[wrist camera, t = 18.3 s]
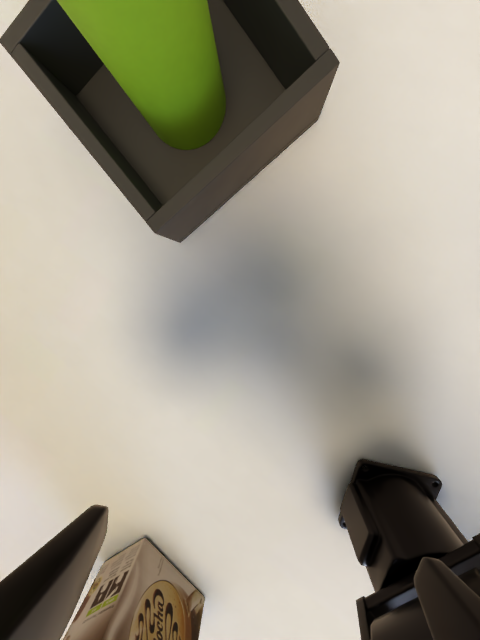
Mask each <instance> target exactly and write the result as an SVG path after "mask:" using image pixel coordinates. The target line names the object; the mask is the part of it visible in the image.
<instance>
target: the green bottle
mask: <svg viewBox="0 0 480 640" xmlns="http://www.w3.org/2000/svg"><path fill="white" fill-rule="evenodd" d="M57 1H58V3H59V4H60V5H61V7H62V8H63V9H64V11H65V12H66V13H67V15H68V16H69V18H70V19H71V20H72V22H73V23H74V24H75V26H76V27H77V28H78V30H79V31H80V32H81V34H82V35H83V36H84V38H85V39H86V40H87V42H88V43H89V44H90V46H91V47H92V48H93V50H94V51H95V52H96V54H97V55H98V56H99V58H100V59H101V60H102V62H103V63H104V65H105V66H106V67H107V69H108V70H109V71H110V73H111V74H112V75H113V77H114V78H115V79H116V81H117V82H118V83H119V85H120V86H121V87H122V89H123V90H124V91H125V93H126V94H127V95H128V97H129V98H130V99H131V101H132V102H133V103H134V105H135V106H136V107H137V109H138V110H139V111H140V113H141V114H142V116H143V117H144V118H145V120H146V121H147V122H148V124H149V125H150V126H151V128H152V129H153V130H154V132H155V133H156V134H157V136H158V137H159V138H160V139H161V140H162V141H163V142H165V143H166V144H168V145H169V146H171V147H174V148H177V149H181V150H191V149H196V148H199V147H201V146H203V145H205V144H206V143H208V142H209V141H210V140H211V139H212V138H213V137H214V136H215V135H216V134H217V132H218V130H219V129H220V127H221V125H222V122H223V119H224V116H225V110H226V97H225V90H224V85H223V80H222V75H221V70H220V64H219V59H218V54H217V49H216V44H215V38H214V33H213V28H212V23H211V18H210V12H209V7H208V2H207V0H57Z"/></svg>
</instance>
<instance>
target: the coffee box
mask: <svg viewBox="0 0 480 640" xmlns="http://www.w3.org/2000/svg"><path fill="white" fill-rule="evenodd" d="M204 601H205V597H204V596H203V595H202V594H201V593H200V592H199V591H198V590H197V589H196V588H195V587H194V586H193V585H192V584H191V583H190V582H189V581H188V580H187V579H186V578H185V577H184V576H183V575H182V574H181V573H180V572H179V571H178V570H177V569H176V568H175V567H174V566H173V565H172V564H171V563H170V562H169V561H168V560H167V559H166V558H165V557H164V556H163V555H162V554H161V553H160V552H159V551H158V550H157V549H156V548H155V547H154V546H153V545H152V544H151V543H150V542H149V541H148V540H147V539H146V538H143V539H142V540H140V541H138V542H137V543H135V544H133V545H132V546H130V547H129V548H127V549H125V550H124V551H122V552H120V553H119V554H117V555H116V556H114V557H112V558H111V559H109V560H108V561H106V562H105V563H103V565H102V567H101V569H100V571H99V572H98V574H97V576H96V578H95V580H94V582H93V584H92V586H91V588H90V590H89V592H88V594H87V596H86V597H85V599H84V601H83V603H82V605H81V607H80V609H79V610H78V612H77V614H76V616H75V618H74V620H73V622H72V624H71V625H70V627H69V629H68V631H67V633H66V635H65V637H64V639H63V640H198V637H199V631H200V625H201V618H202V612H203V607H204Z"/></svg>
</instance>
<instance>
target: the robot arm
mask: <svg viewBox="0 0 480 640" xmlns="http://www.w3.org/2000/svg"><path fill="white" fill-rule="evenodd" d="M363 466H366V467H363ZM433 482H434V483H433ZM441 486H442V482H441V481H440V480H439V479H438V477H437V476H435V475H431V474H427V473H422V472H418V471H414V470H409V469H405V468H400V467H396V466H392V465H387V464H383V463H378V462H374V461H370V460H365V459H362V460H359V461H358V463H357V465H356V468H355V471H354V474H353V477H352V480H351V482H350V483H349V485H348V487H347V490H346V493H345V496H344V499H343V502H342V505H341V508H340V509H341V512H340V515H339V518H338V520H339V523H340V526H341V527H342V528H344V529H347V530H348V533H349V535H350V538H351V541H352V544H353V547H354V550H355V553H356V556H357V559H358V561H359V562H360V564H361V565H363V566H366V568H367V571H368V574H369V576H370V579H371V582H372V585H373V587H374V590H375V593H373V594H371V595H369V596H367V597H366V598H365V597H364V596H363V597H361V598H359V599H357V600H356V604H357V611H358V618H359V626H360V633H361V640H480V534H478V535H476V536H474V537H472V538H473V540H472V541H470V542H468V541H467V540H466V538H465V537H464V536H463V534H462V533H461V532H460V531H459V529H458V528H457V527H456V525H455V524H454V523H453V522H452V520H451V519H450V518H449V516H448V515H447V514H446V513H445V511H444V510H443V509H442V507H441V506H440V505H439V503H438V502H437V501H436V498H437V496H438V493H439V491H440V489H441ZM107 524H108V507H106V506H101V505H93V506H91V507H90V508H88V509H87V510H86V511H85V512H84V513H82V514H81V515H80V516H79V517H78V518H76V519H75V520H74V521H73V522H72V523H70V524H69V525H68V526H67V527H66V528H64V529H63V530H62V531H61V532H60V533H58V534H57V535H56V536H55V537H54V538H52V539H51V540H50V541H49V542H48V543H46V544H45V545H44V546H43V547H42V548H41V549H39V550H38V551H37V552H36V553H35V554H33V555H32V556H31V557H30V558H29V559H27V560H26V561H25V562H24V563H23V564H21V565H20V566H19V567H18V568H17V569H15V570H14V571H13V572H12V573H11V574H9V575H8V576H7V577H6V578H5V579H3V580H2V581H1V582H0V640H60V638H61V636H62V634H63V633H64V631H65V628H66V626H67V624H68V622H69V620H70V618H71V616H72V614H73V612H74V609H75V607H76V605H77V603H78V600H79V598H80V595H81V593H82V591H83V588H84V586H85V584H86V581H87V579H88V577H89V574H90V572H91V570H92V567H93V565H94V563H95V560H96V558H97V555H98V553H99V551H100V548H101V546H102V544H103V541H104V539H105V536H106V533H107Z"/></svg>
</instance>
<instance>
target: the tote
mask: <svg viewBox="0 0 480 640" xmlns="http://www.w3.org/2000/svg"><path fill="white" fill-rule="evenodd" d="M207 2H208V7H209V12H210V18H211V23H212V28H213V33H214V38H215V44H216V49H217V54H218V59H219V64H220V70H221V75H222V80H223V85H224V90H225V97H226V110H225V116H224V119H223V122H222V125H221V127H220V129H219V130H218V132H217V134H216V135H215V136H214V137H213V138H212V139H211V140H210V141H209V142H208V143H206V144H205V145H203V146H201V147H199V148H196V149H191V150H181V149H177V148H174V147H171V146H169V145H168V144H166V143H165V142H163V141H162V140H161V139H160V138H159V137H158V136H157V134H156V133H155V132H154V130H153V129H152V128H151V126H150V125H149V124H148V122H147V121H146V120H145V118H144V117H143V116H142V114H141V113H140V111H139V110H138V109H137V107H136V106H135V105H134V103H133V102H132V101H131V99H130V98H129V97H128V95H127V94H126V93H125V91H124V90H123V89H122V87H121V86H120V85H119V83H118V82H117V81H116V79H115V78H114V77H113V75H112V74H111V73H110V71H109V70H108V69H107V67H106V66H105V65H104V63H103V62H102V60H101V59H100V58H99V56H98V55H97V54H96V52H95V51H94V50H93V48H92V47H91V46H90V44H89V43H88V42H87V40H86V39H85V38H84V36H83V35H82V34H81V32H80V31H79V30H78V28H77V27H76V26H75V24H74V23H73V22H72V20H71V19H70V18H69V16H68V15H67V13H66V12H65V11H64V9H63V8H62V7H61V5H60V4H59V3H58V1H57V0H29V1H28V3H27V4H26V5H25V7H24V8H23V9H22V11H21V12H20V13H19V14H18V16H17V17H16V18H15V20H14V21H13V22H12V24H11V25H10V26H9V28H8V29H7V30H6V32H5V33H4V34H3V36H2V37H1V38H0V43H1V44H2V45H3V47H4V48H5V49H6V50H7V52H8V53H9V54H10V55H11V56H12V58H13V59H14V60H15V61H16V63H17V64H18V65H19V66H20V67H21V69H22V70H23V71H24V72H25V74H26V75H27V76H28V77H29V79H30V80H31V81H32V82H33V83H34V85H35V86H36V87H37V88H38V90H39V91H40V92H41V93H42V95H43V96H44V97H45V98H46V99H47V101H48V102H49V103H50V104H51V106H52V107H53V108H54V109H55V111H56V112H57V113H58V114H59V116H60V117H61V118H62V119H63V120H64V122H65V123H66V124H67V125H68V127H69V128H70V129H71V130H72V132H73V133H74V134H75V135H76V136H77V138H78V139H79V140H80V141H81V143H82V144H83V145H84V146H85V148H86V149H87V150H88V151H89V152H90V154H91V155H92V156H93V157H94V159H95V160H96V161H97V162H98V164H99V165H100V166H101V167H102V168H103V170H104V171H105V172H106V173H107V175H108V176H109V177H110V178H111V180H112V181H113V182H114V183H115V185H116V186H117V187H118V188H119V189H120V191H121V192H122V193H123V194H124V196H125V197H126V198H127V199H128V201H129V202H130V203H131V204H132V205H133V207H134V208H135V209H136V210H137V212H138V213H139V214H140V215H141V217H142V218H143V219H144V220H145V221H146V223H147V224H148V225H149V227H150V228H151V229H152V230H153V232H154V233H156V234H158V235H161V236H164V237H166V238H169V239H172V240H174V241H177V242H182V241H183V240H184V239H185V238H186V237H187V236H188V235H190V234H191V233H192V232H193V231H194V230H195V229H196V228H197V227H198V226H200V225H201V224H202V223H203V222H204V221H205V220H206V219H207V218H209V217H210V216H211V215H212V214H213V213H214V212H215V211H216V210H217V209H219V208H220V207H221V206H222V205H223V204H224V203H225V202H226V201H228V200H229V199H230V198H231V197H232V196H233V195H234V194H235V193H236V192H238V191H239V190H240V189H241V188H242V187H243V186H244V185H245V184H247V183H248V182H249V181H250V180H251V179H252V178H253V177H254V176H256V175H257V174H258V173H259V172H260V171H261V170H262V169H263V168H264V167H266V166H267V165H268V164H269V163H270V162H271V161H272V160H273V159H275V158H276V157H277V156H278V155H279V154H280V153H281V152H282V151H283V150H285V149H286V148H287V147H288V146H289V145H290V144H291V143H292V142H294V141H295V140H296V139H297V138H298V137H299V136H300V135H301V134H303V133H304V132H305V131H306V130H307V129H308V128H309V127H310V126H311V125H313V124H314V123H315V122H316V121H317V120H318V118H319V115H320V113H321V110H322V108H323V105H324V102H325V100H326V97H327V95H328V92H329V89H330V87H331V84H332V81H333V79H334V76H335V74H336V71H337V68H338V66H339V63H340V62H339V60H338V59H337V57H336V56H335V54H334V53H333V51H332V50H331V49H329V46H328V44H327V43H326V41H325V40H324V38H323V37H322V35H321V34H320V32H319V31H318V29H317V28H316V26H315V25H314V23H313V22H312V20H311V19H310V17H309V16H308V14H307V13H306V11H305V10H304V8H303V7H302V5H301V4H300V3H299V1H298V0H207Z"/></svg>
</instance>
